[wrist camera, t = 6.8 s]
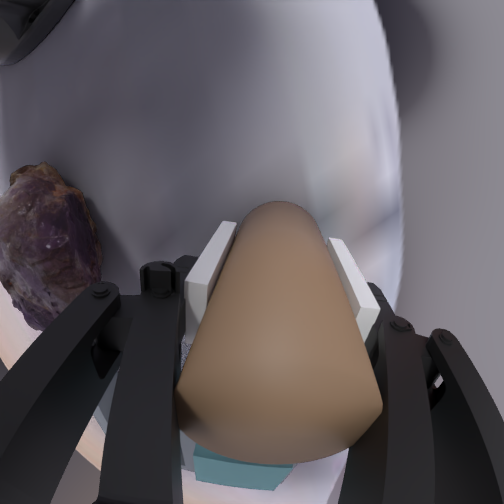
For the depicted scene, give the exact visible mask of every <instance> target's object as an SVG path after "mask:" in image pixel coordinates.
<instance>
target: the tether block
mask: <svg viewBox="0 0 504 504" xmlns="http://www.w3.org/2000/svg"><path fill="white" fill-rule="evenodd" d="M174 397H175V404H176V411H177V418H178V424H179V429H180V430H181V431H182V432H183V433H184V434H185V435H186V436H187V437H189V438H190V439H191V440H193V441H194V442H195V443H196V445H195V449H194V453H193V460H194V468H195V475H196V480H198V481H203V482H208V483H213V484H219V485H225V486H232V487H240V488H248V489H259V490H273V491H274V490H275V488H276V487H277V486H278V485H279V484H280V483H281V482H282V480H283V479H284V478H285V477H286V476H287V475H288V473H289V472H290V471H291V470H292V469H293V464H295V463H303V462H308V461H314V460H318V459H321V458H325V457H328V456H331V455H334V454H336V453H339V452H341V451H343V450H345V449H347V448H349V447H351V446H353V445H354V444H355V443H356V442H357V441H358V439H359V438H360V437H361V436H362V435H363V434H364V433H365V432H366V431H367V429H368V428H369V427H370V426H371V425H372V424H373V422H374V421H375V420H376V419H377V418H378V416H379V415H380V414H381V413H382V406H383V403H382V399H381V395H380V391H379V388H378V385H377V381H376V378H375V375H374V372H373V369H372V365H371V362H370V359H369V356H368V353H367V350H366V347H365V344H364V341H363V339H362V336H361V333H360V330H359V327H358V324H357V322H356V319H355V316H354V313H353V311H352V308H351V305H350V303H349V300H348V298H347V295H346V292H345V290H344V287H343V285H342V282H341V280H340V277H339V275H338V272H337V270H336V267H335V265H334V263H333V260H332V258H331V255H330V253H329V251H328V248H327V246H326V244H325V241H324V239H323V237H322V235H321V232H320V230H319V228H318V226H317V223H316V222H315V220H314V219H313V217H312V216H311V215H310V214H309V213H308V212H307V211H306V210H304V209H303V208H301V207H300V206H298V205H295V204H293V203H289V202H282V201H275V202H269V203H266V204H263V205H260V206H258V207H257V208H255V209H254V210H252V211H251V212H250V213H249V214H248V215H247V216H246V217H245V219H244V220H243V222H242V224H241V226H240V228H239V230H238V233H237V235H236V238H235V240H234V242H233V245H232V247H231V249H230V252H229V254H228V257H227V259H226V261H225V264H224V266H223V269H222V271H221V274H220V276H219V278H218V281H217V283H216V286H215V288H214V291H213V293H212V295H211V298H210V300H209V303H208V305H207V308H206V310H205V313H204V315H203V318H202V320H201V323H200V325H199V328H198V330H197V333H196V335H195V338H194V340H193V343H192V345H191V348H190V351H189V353H188V356H187V358H186V361H185V363H184V366H183V369H182V371H181V374H180V376H179V379H178V382H177V384H176V387H175V390H174Z"/></svg>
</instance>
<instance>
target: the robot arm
mask: <svg viewBox="0 0 504 504" xmlns="http://www.w3.org/2000/svg"><path fill="white" fill-rule="evenodd" d="M73 1H74V0H0V65H10V64H13V63H16V62H17V61H19V60H21V59H22V58H23V57H25V56H26V55H27V54H28V53H30V52H31V51H32V50H33V49H34V48H35V47H36V46H37V45H38V44H39V43H40V42H41V41H42V40H43V39H44V37H45V36H46V35H47V34H48V33H49V32H50V31H51V29H52V28H53V27H54V26H55V25H56V23H57V22H58V21H59V20H60V18H61V17H62V16H63V14H64V13H65V12H66V10H67V9H68V8H69V6H70V5H71V3H72V2H73ZM236 226H237V223H235V222H228V221H222V223H221V224H220V226H219V227H218V229H217V230H216V232H215V233H214V235H213V236H212V238H211V240H210V241H209V243H208V244H207V246H206V247H205V249H204V250H203V252H202V254H201V255H200V257H193V256H187V255H184V256H182V257H180V258H178V259H177V260H176V261H175V262H174V264H172V263H170V262H164V261H157V262H151V263H147V264H145V265H143V266H142V267H141V269H140V281H141V294H140V295H120V294H119V288H118V287H117V286H116V285H115V284H113V283H110V282H97V283H94V284H92V285H90V286H88V287H87V288H86V289H85V290H84V291H82V292H81V293H80V294H79V295H78V296H77V297H76V298H75V299H74V300H73V301H72V302H71V303H70V304H69V305H68V306H67V307H66V308H65V309H64V310H63V311H62V312H61V313H60V314H59V315H58V316H57V317H56V318H55V319H54V321H53V322H52V323H51V324H50V325H49V326H48V327H47V328H46V329H45V330H44V331H43V332H42V333H41V334H40V335H39V337H38V338H37V339H36V340H35V341H34V342H33V343H32V344H31V345H30V347H29V348H28V349H27V350H26V351H25V352H24V353H23V355H22V356H21V357H20V358H19V359H18V360H17V362H16V363H15V364H14V365H13V366H12V368H11V369H10V370H9V371H8V373H7V374H6V375H5V376H4V378H3V379H2V380H1V381H0V504H50V503H51V500H52V498H53V496H54V493H55V491H56V488H57V486H58V484H59V482H60V480H61V478H62V475H63V473H64V471H65V469H66V467H67V465H68V462H69V460H70V458H71V456H72V454H73V452H74V450H75V448H76V446H77V444H78V442H79V440H80V438H81V436H82V434H83V432H84V430H85V428H86V426H87V425H88V423H89V421H90V419H91V417H92V415H93V413H94V411H95V410H96V408H97V406H98V404H99V402H100V400H101V399H102V397H103V395H104V393H105V391H106V390H107V388H108V386H109V384H110V382H111V381H112V379H113V377H114V375H115V374H116V372H117V370H118V369H119V372H118V376H117V380H116V385H115V389H114V394H113V398H112V403H111V408H110V413H109V419H108V424H107V430H106V437H105V443H104V450H103V457H102V465H101V476H100V486H99V494H98V498H97V500H96V501H95V502H94V503H92V504H183V492H182V476H181V452H180V429H179V424H178V418H177V411H176V404H175V397H174V390H175V387H176V384H177V382H178V379H179V376H180V374H181V351H182V350H181V341H182V338H183V336H184V334H185V343H186V344H191V345H192V343H193V340H194V338H195V335H196V333H197V330H198V328H199V325H200V323H201V320H202V318H203V315H204V313H205V310H206V308H207V305H208V303H209V300H210V298H211V295H212V293H213V291H214V288H215V286H216V283H217V281H218V278H219V276H220V274H221V271H222V269H223V266H224V264H225V261H226V259H227V257H228V254H229V252H230V249H231V247H232V245H233V242H234V240H235V234H236ZM327 248H328V251H329V253H330V255H331V258H332V260H333V263H334V265H335V267H336V270H337V272H338V275H339V277H340V280H341V282H342V285H343V287H344V290H345V292H346V295H347V298H348V300H349V303H350V305H351V308H352V311H353V313H354V316H355V319H356V322H357V324H358V327H359V330H360V333H361V336H362V339H363V341H364V344H365V347H366V350H367V353H368V356H369V359H370V362H371V365H372V369H373V372H374V375H375V378H376V381H377V385H378V388H379V391H380V395H381V399H382V403H383V406H382V413H381V414H380V415H379V416H378V418H377V419H376V420H375V421H374V422H373V424H372V425H371V426H370V427H369V428H368V429H367V431H366V432H365V433H364V434H363V435H362V436H361V437H360V438H359V439H358V441H357V442H356V443H355V444H354V445H353V446H351V447H349V452H348V457H347V463H346V469H345V474H344V479H343V484H342V488H341V492H340V497H339V501H338V504H504V422H503V419H502V417H501V415H500V413H499V411H498V408H497V406H496V404H495V403H494V400H493V399H492V397H491V395H490V393H489V392H488V389H487V387H486V386H485V384H484V382H483V380H482V378H481V377H480V375H479V373H478V372H477V370H476V368H475V366H474V365H473V363H472V361H471V360H470V358H469V357H468V355H467V353H466V352H465V350H464V349H463V347H462V346H461V344H460V342H459V341H458V340H457V338H456V337H455V336H454V335H453V334H452V333H451V332H450V331H447V330H445V329H440V328H439V329H435V330H433V331H432V333H431V335H430V337H429V338H428V337H424V336H421V335H418V334H415V330H414V328H413V326H412V325H411V323H409V322H408V321H407V320H405V319H404V318H401V317H399V316H395V314H394V312H393V310H392V309H391V307H390V305H389V303H388V302H387V300H386V298H385V297H384V295H383V293H382V291H381V290H380V289H379V288H378V287H377V286H376V285H375V284H374V283H369V282H366V281H365V279H364V277H363V275H362V273H361V272H360V270H359V268H358V266H357V265H356V263H355V261H354V259H353V258H352V256H351V254H350V252H349V251H348V249H347V247H346V246H345V244H344V242H343V241H342V240H341V239H335V238H329V239H328V243H327ZM440 375H441V376H442V378H443V380H444V381H443V382H442V383H441V385H440V386H439V387H438V388H436V386H435V384H434V383H435V382H436V380H437V379H438V377H439V376H440Z"/></svg>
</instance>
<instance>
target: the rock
mask: <svg viewBox="0 0 504 504" xmlns="http://www.w3.org/2000/svg"><path fill="white" fill-rule="evenodd" d="M10 183H11V184H10V186H11V187H10V188H9V189H8V190H7V191H6V192H5V193H4V194H3V195H2V196H1V197H0V281H1V283H2V285H3V287H4V288H5V289H6V290H7V292H8V293H9V294H10V296H11V298H12V303H13V306H14V307H15V308H18V310H19V311H21V312H22V313H23V315H24V319H25V321H26V322H27V324H28V325H29V326H30V327H31V328H33V329H35V330H41V331H44V330H45V329H46V328H47V327H48V326H49V325H50V324H51V323H52V322H53V321H54V319H55V318H56V317H57V316H58V315H59V314H60V313H61V312H62V311H63V310H64V309H65V308H66V307H67V306H68V305H69V304H70V303H71V302H72V301H73V300H74V299H75V298H76V297H77V296H78V295H79V294H80V293H81V292H82V291H84V290H85V289H86V288H87V287H88V286H90V285H92V284H94V283H97V282H100V281H101V275H102V274H101V271H100V266H101V263H102V260H103V256H102V252H101V245H100V242H99V241H98V238H97V236H96V234H95V232H96V231H97V228H96V224H95V223H94V222H93V221H92V219H91V217H90V216H89V212H90V211H89V210H88V209H87V207H86V203H85V200H84V198H83V193H82V192H81V191H80V190H78V189H76V188H73V187H70V186H66V185H65V183H64V181H63V179H62V178H61V176H60V175H59V174H58V172H57V170H56V169H55V168H53V167H52V166H50V165H48V164H47V163H46V162H45V161H44V162H41V163H40V164H39V165H36V166H34V165H26V166H23V167H21V168H19V169H18V170H16V171H15V172H13V173H12V174H11V177H10Z"/></svg>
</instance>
